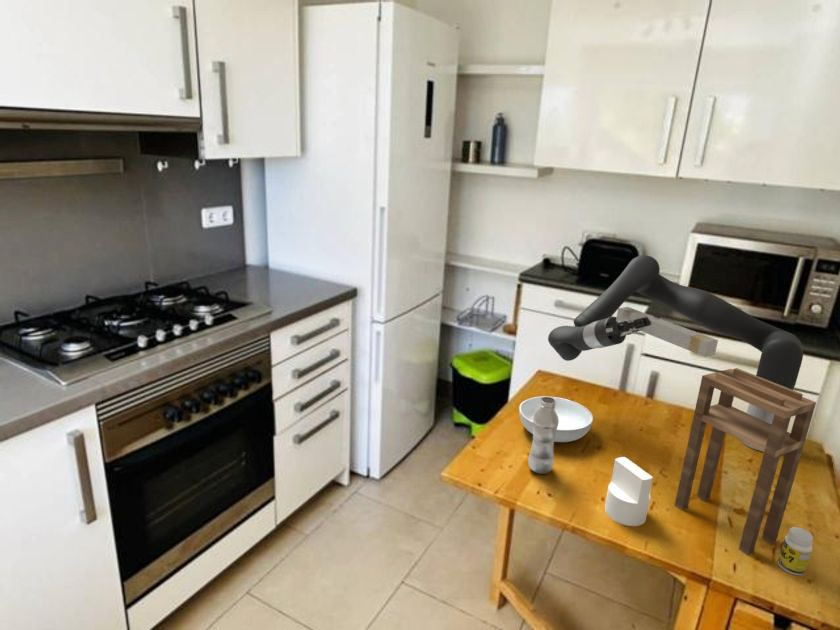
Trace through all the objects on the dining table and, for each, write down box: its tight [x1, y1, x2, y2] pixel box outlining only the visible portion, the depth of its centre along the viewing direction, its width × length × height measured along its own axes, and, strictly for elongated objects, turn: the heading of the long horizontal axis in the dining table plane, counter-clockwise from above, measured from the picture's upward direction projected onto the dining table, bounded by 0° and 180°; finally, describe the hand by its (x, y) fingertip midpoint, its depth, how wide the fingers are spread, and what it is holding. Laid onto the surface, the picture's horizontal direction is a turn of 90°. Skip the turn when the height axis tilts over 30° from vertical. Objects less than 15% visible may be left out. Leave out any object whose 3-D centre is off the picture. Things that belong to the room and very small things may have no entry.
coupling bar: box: [616, 306, 719, 358], centre depth 133 cm, size 4×26×4 cm, turn 28°
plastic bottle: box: [527, 396, 559, 475], centre depth 139 cm, size 6×7×20 cm
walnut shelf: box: [674, 367, 817, 556], centre depth 119 cm, size 10×18×35 cm, turn 28°
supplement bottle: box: [777, 526, 814, 576], centre depth 111 cm, size 5×5×8 cm
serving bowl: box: [518, 395, 594, 443], centre depth 160 cm, size 21×21×7 cm
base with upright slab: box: [604, 456, 654, 527], centre depth 125 cm, size 9×9×12 cm
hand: (653, 320), depth 136 cm, fingers closed on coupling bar, 3 cm apart
